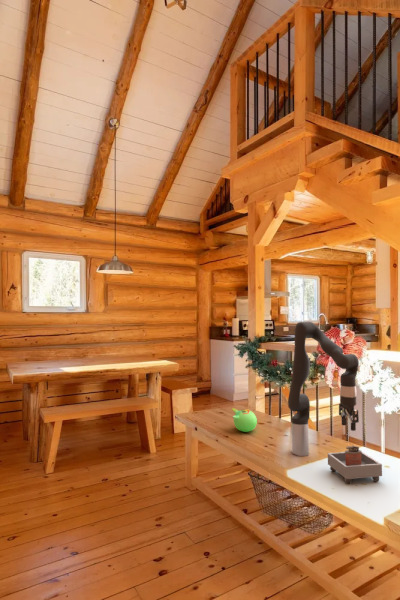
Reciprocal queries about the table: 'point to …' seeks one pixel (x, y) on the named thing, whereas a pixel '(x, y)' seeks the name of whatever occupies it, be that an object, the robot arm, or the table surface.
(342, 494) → the table surface
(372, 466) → the cart
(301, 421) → the robot arm
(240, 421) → the green apple
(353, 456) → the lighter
